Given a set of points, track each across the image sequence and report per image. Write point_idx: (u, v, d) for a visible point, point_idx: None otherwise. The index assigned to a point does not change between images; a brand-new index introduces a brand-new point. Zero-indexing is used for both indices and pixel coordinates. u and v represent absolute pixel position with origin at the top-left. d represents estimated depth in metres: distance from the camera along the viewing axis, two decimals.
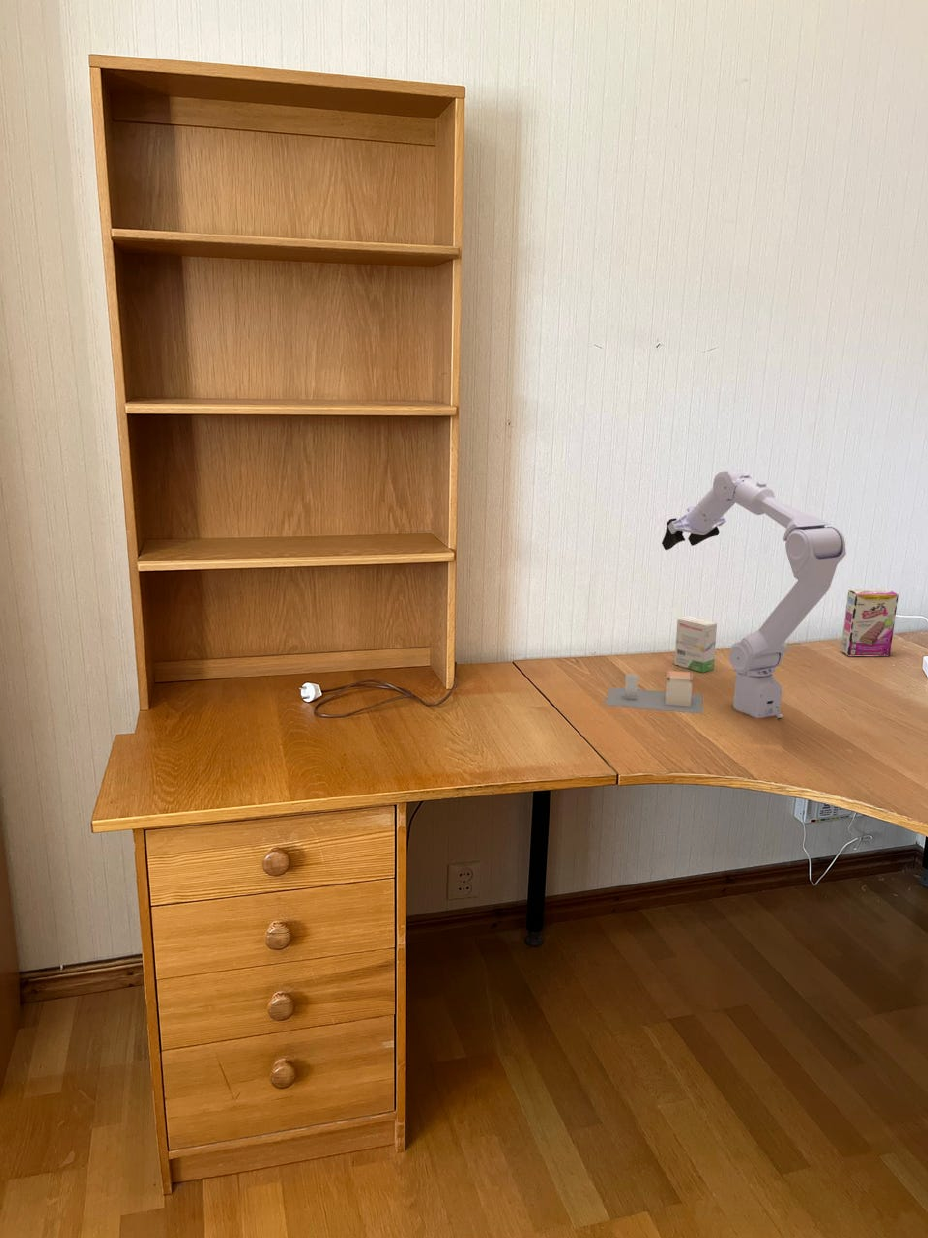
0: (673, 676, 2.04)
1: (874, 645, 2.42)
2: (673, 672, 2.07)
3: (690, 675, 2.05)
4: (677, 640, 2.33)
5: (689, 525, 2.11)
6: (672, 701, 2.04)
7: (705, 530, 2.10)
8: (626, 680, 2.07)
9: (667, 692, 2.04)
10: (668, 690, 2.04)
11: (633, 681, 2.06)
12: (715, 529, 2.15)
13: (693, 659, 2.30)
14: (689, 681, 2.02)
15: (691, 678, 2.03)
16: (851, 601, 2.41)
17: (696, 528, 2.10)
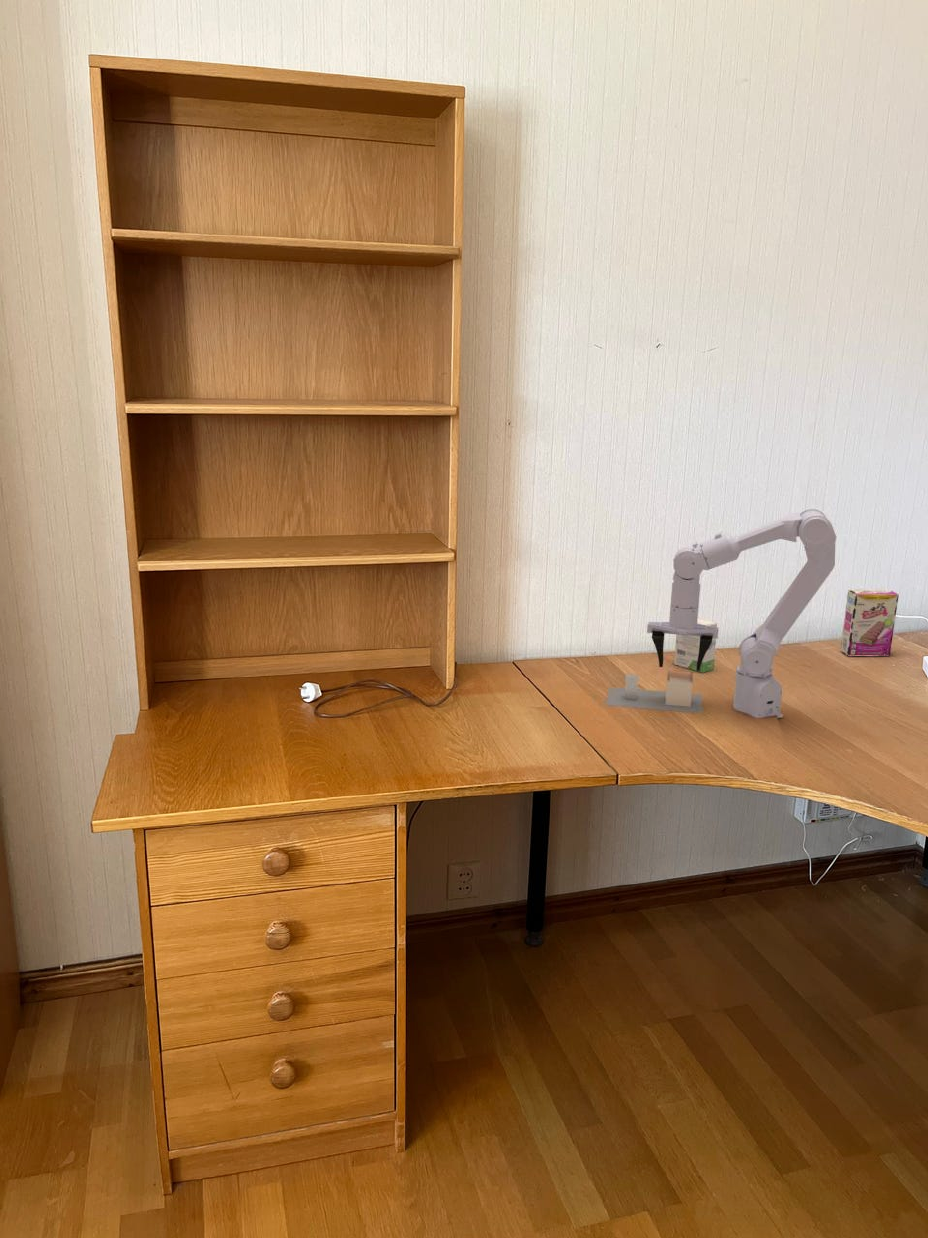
0: (673, 676, 2.04)
1: (874, 645, 2.42)
2: (673, 672, 2.07)
3: (690, 675, 2.05)
4: (677, 640, 2.33)
5: None
6: (672, 701, 2.04)
7: None
8: (626, 680, 2.07)
9: (667, 692, 2.04)
10: (668, 690, 2.04)
11: (633, 681, 2.06)
12: None
13: (693, 659, 2.30)
14: (689, 681, 2.02)
15: (691, 678, 2.03)
16: (851, 601, 2.41)
17: None
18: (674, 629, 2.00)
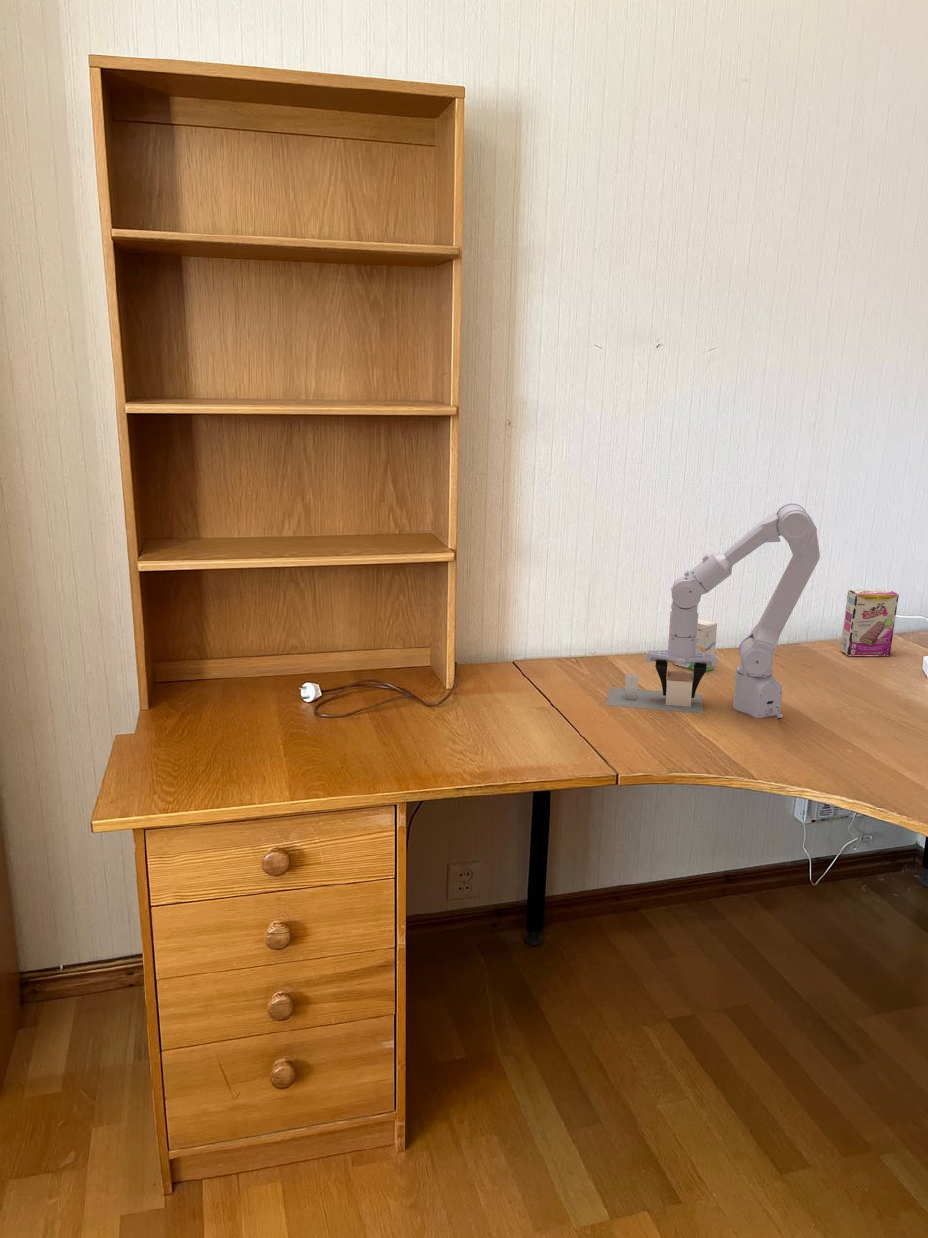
0: (673, 676, 2.04)
1: (874, 645, 2.42)
2: (673, 672, 2.07)
3: (690, 675, 2.05)
4: None
5: None
6: (672, 701, 2.04)
7: None
8: (626, 680, 2.07)
9: (667, 692, 2.04)
10: (668, 690, 2.04)
11: (633, 681, 2.06)
12: None
13: None
14: (689, 681, 2.02)
15: (691, 678, 2.03)
16: (851, 601, 2.41)
17: None
18: (673, 658, 2.02)
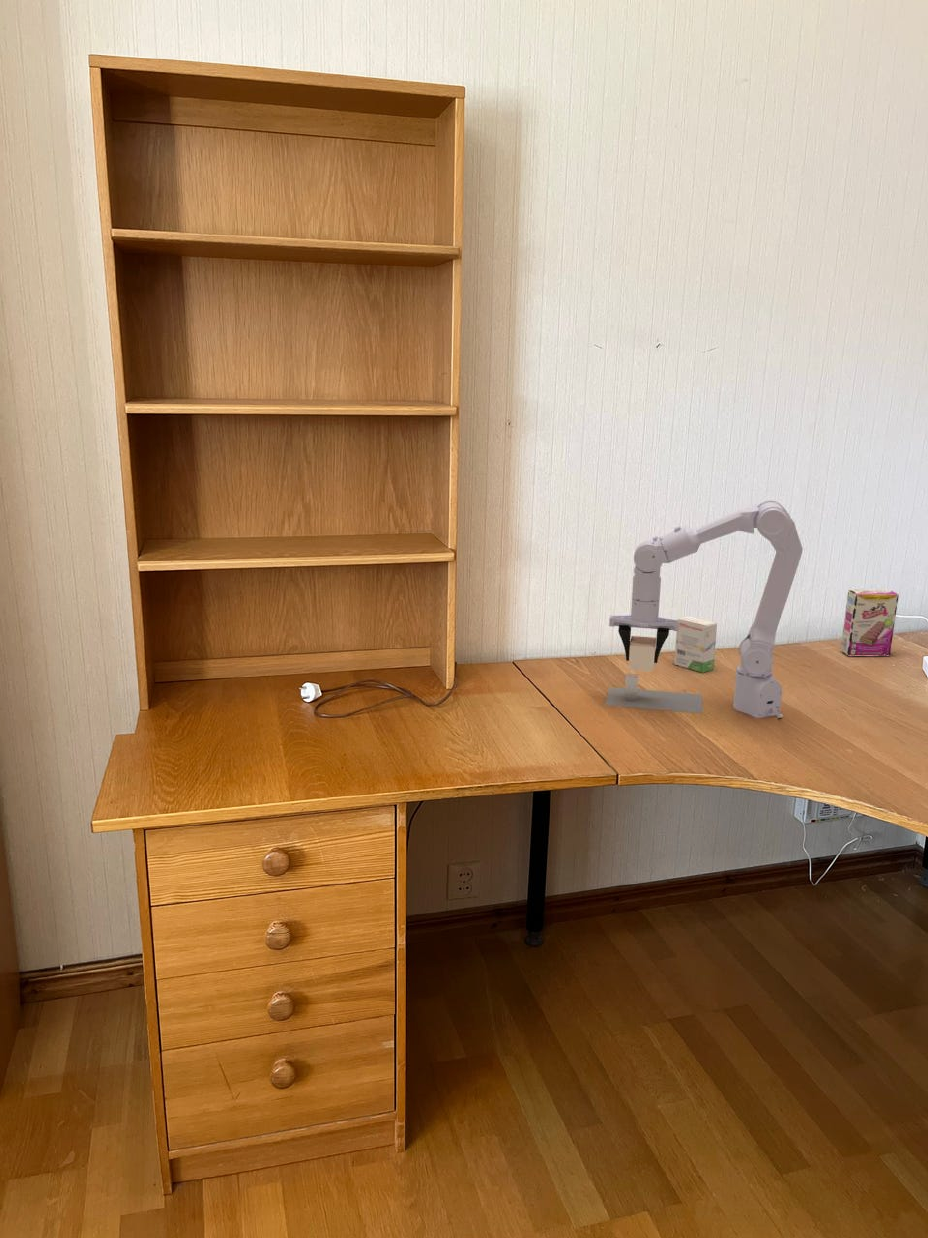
0: (636, 641, 2.04)
1: (874, 645, 2.42)
2: (636, 637, 2.06)
3: (653, 640, 2.05)
4: (677, 640, 2.33)
5: None
6: (635, 666, 2.04)
7: None
8: (626, 680, 2.07)
9: (630, 657, 2.04)
10: (631, 655, 2.04)
11: (633, 681, 2.06)
12: None
13: (693, 659, 2.30)
14: (652, 646, 2.02)
15: (654, 643, 2.03)
16: (851, 601, 2.41)
17: None
18: (636, 622, 2.02)
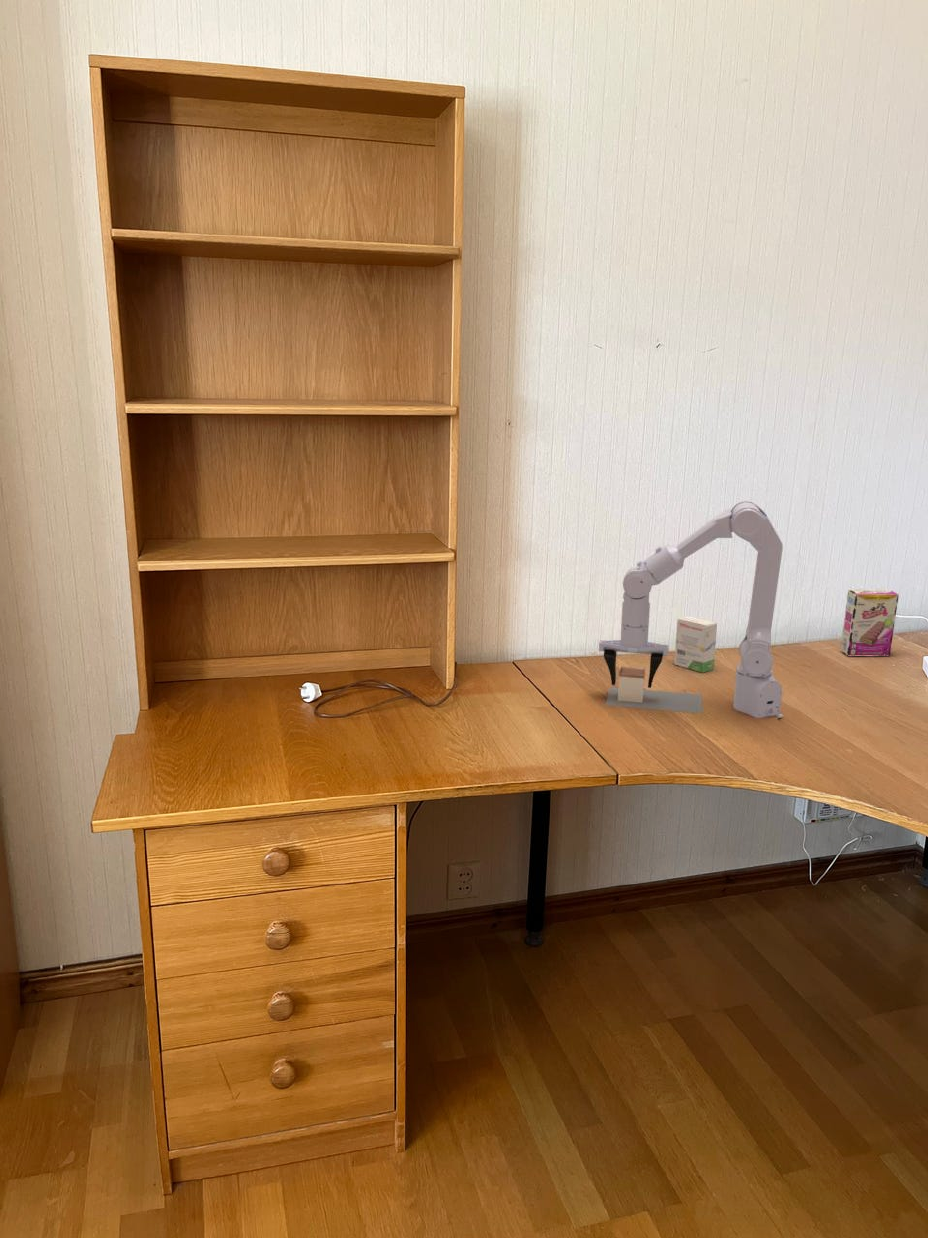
0: (625, 672, 2.06)
1: (874, 645, 2.42)
2: (626, 668, 2.09)
3: (642, 671, 2.07)
4: (677, 640, 2.33)
5: (648, 645, 2.05)
6: (624, 697, 2.06)
7: None
8: None
9: (619, 688, 2.06)
10: (620, 686, 2.06)
11: None
12: None
13: (693, 659, 2.30)
14: (640, 677, 2.04)
15: (643, 674, 2.05)
16: (851, 601, 2.41)
17: None
18: (625, 647, 2.03)
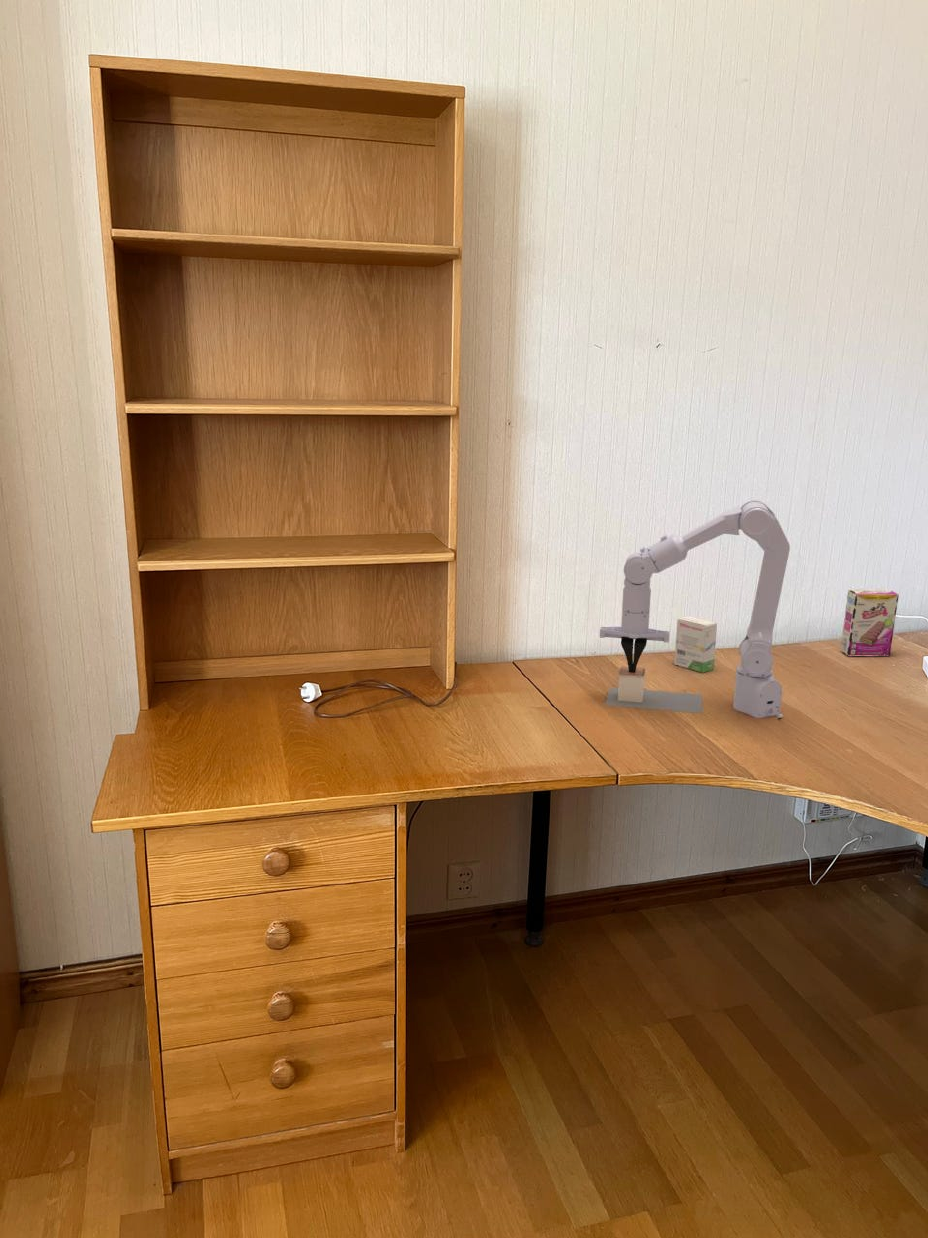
0: (625, 672, 2.06)
1: (874, 645, 2.42)
2: (626, 668, 2.09)
3: (642, 671, 2.07)
4: (677, 640, 2.33)
5: (649, 631, 2.05)
6: (624, 697, 2.06)
7: None
8: None
9: (619, 688, 2.06)
10: (620, 686, 2.06)
11: None
12: None
13: (693, 659, 2.30)
14: (640, 677, 2.04)
15: (643, 674, 2.05)
16: (851, 601, 2.41)
17: None
18: (626, 634, 2.03)
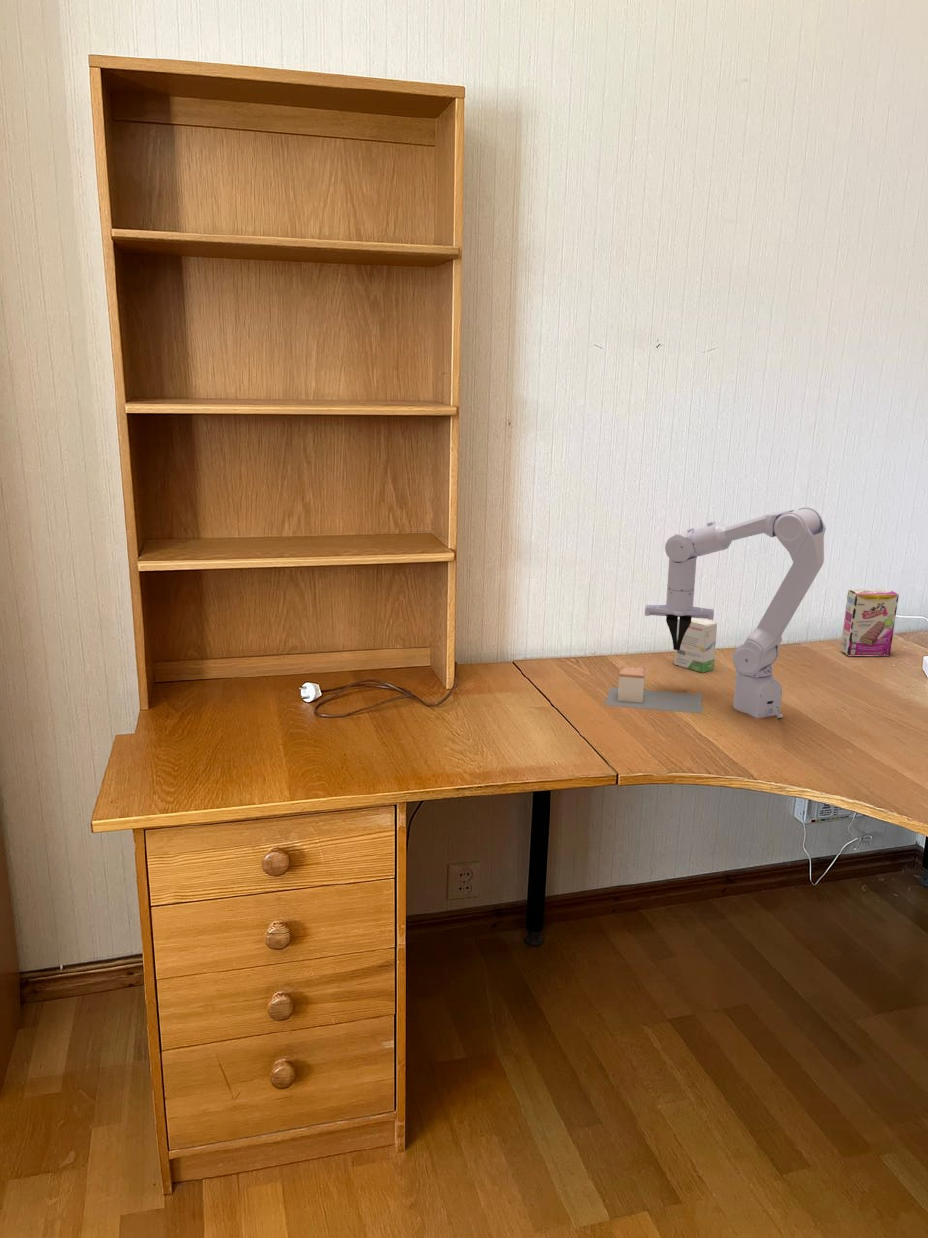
0: (625, 672, 2.06)
1: (874, 645, 2.42)
2: (626, 668, 2.09)
3: (642, 671, 2.07)
4: None
5: None
6: (624, 697, 2.06)
7: None
8: None
9: (619, 688, 2.06)
10: (620, 686, 2.06)
11: None
12: None
13: (693, 659, 2.30)
14: (640, 677, 2.04)
15: (643, 674, 2.05)
16: (851, 601, 2.41)
17: None
18: (671, 611, 2.07)
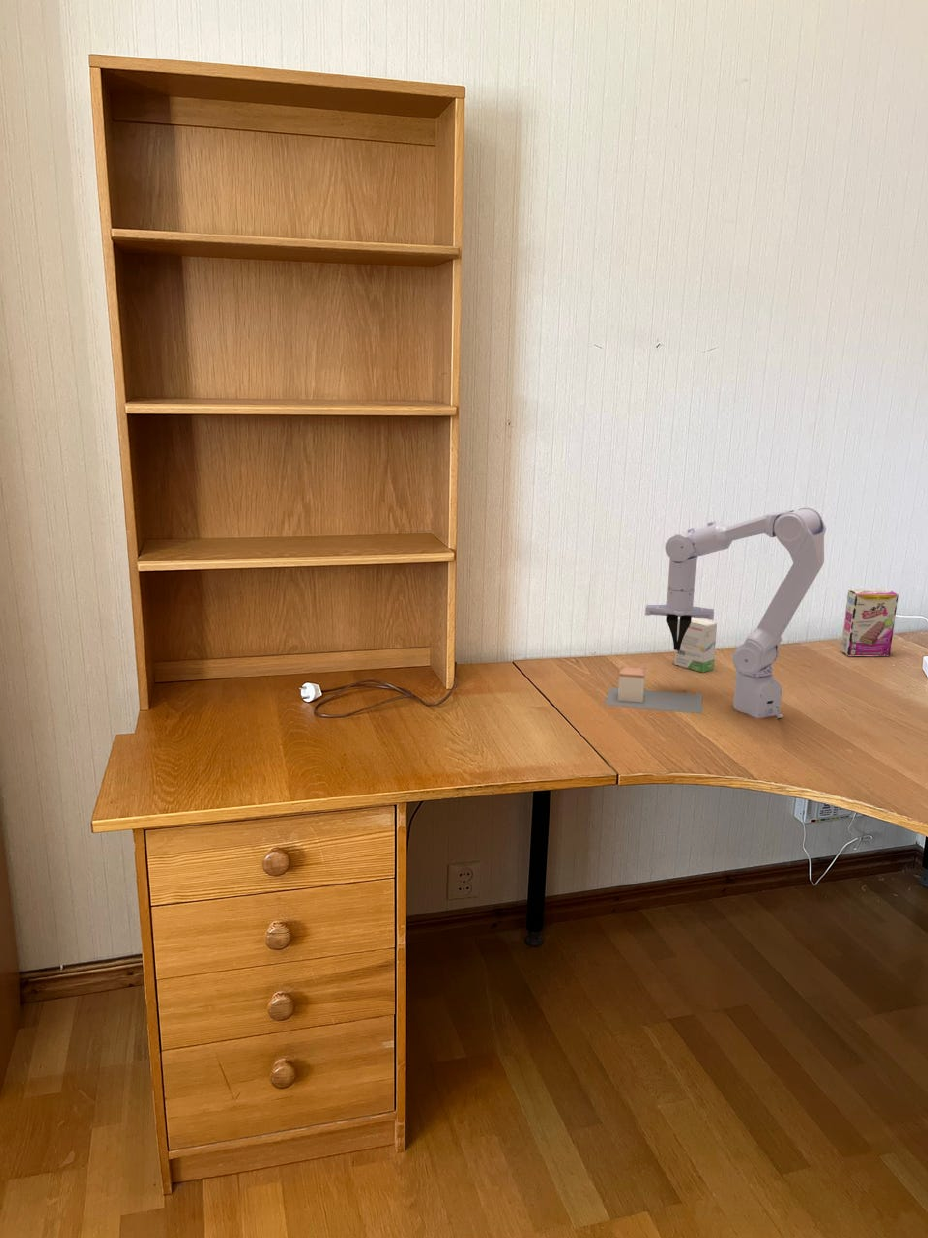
0: (625, 672, 2.06)
1: (874, 645, 2.42)
2: (626, 668, 2.09)
3: (642, 671, 2.07)
4: (677, 640, 2.33)
5: None
6: (624, 697, 2.06)
7: None
8: None
9: (619, 688, 2.06)
10: (620, 686, 2.06)
11: None
12: None
13: (693, 659, 2.30)
14: (640, 677, 2.04)
15: (643, 674, 2.05)
16: (851, 601, 2.41)
17: None
18: (671, 611, 2.07)
